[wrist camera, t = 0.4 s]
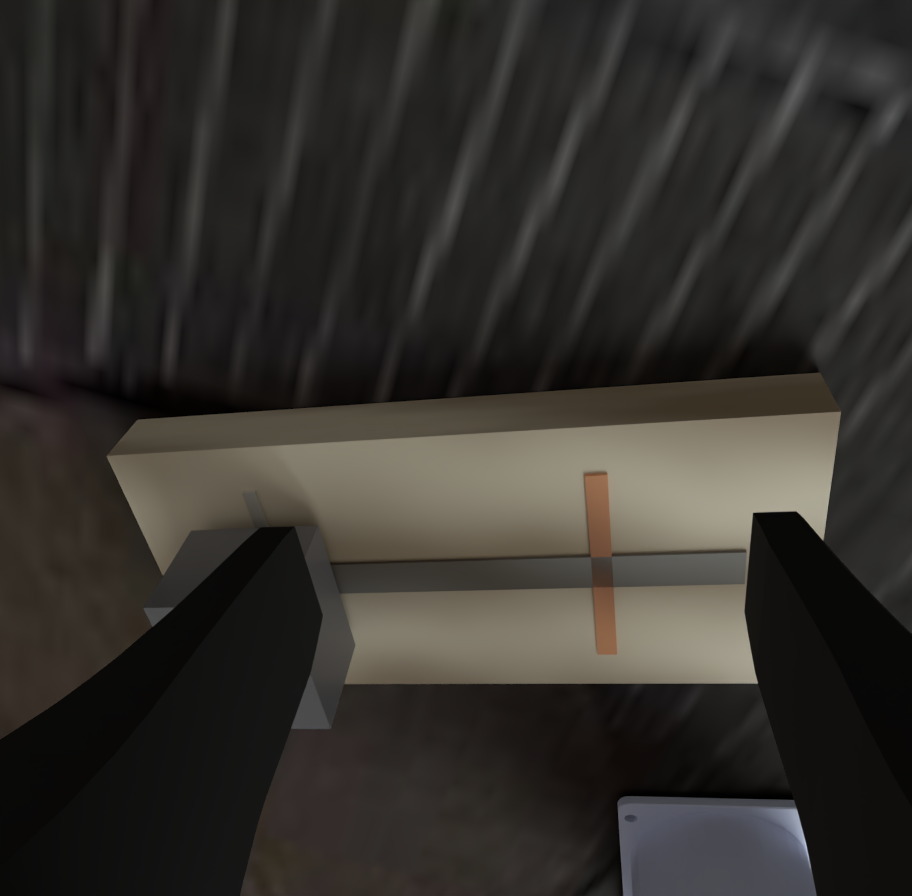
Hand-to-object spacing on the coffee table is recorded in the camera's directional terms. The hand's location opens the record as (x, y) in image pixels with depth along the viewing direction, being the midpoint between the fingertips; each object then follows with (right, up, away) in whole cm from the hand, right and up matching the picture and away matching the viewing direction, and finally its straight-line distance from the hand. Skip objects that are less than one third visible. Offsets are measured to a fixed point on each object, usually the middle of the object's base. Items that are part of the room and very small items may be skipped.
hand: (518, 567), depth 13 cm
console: (0, -1, +13) cm, 13 cm away
